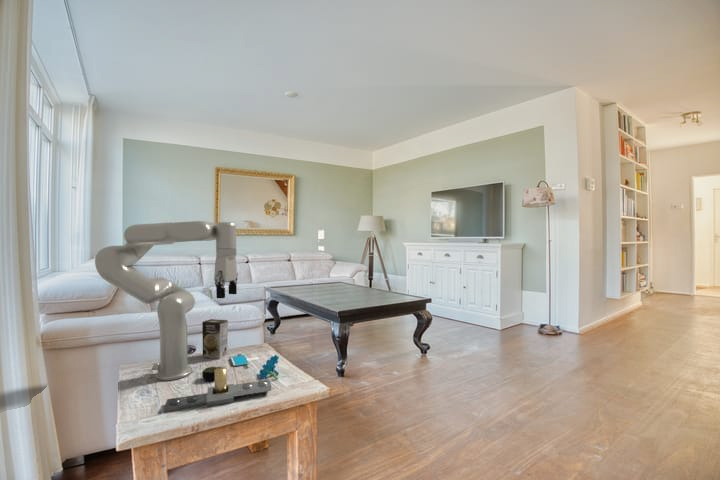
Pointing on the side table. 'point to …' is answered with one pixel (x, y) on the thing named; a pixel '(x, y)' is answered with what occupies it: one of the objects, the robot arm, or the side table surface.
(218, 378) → the pin
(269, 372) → the gear
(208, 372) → the tape measure
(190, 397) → the gray studded rail
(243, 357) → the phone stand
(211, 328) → the coffee box
